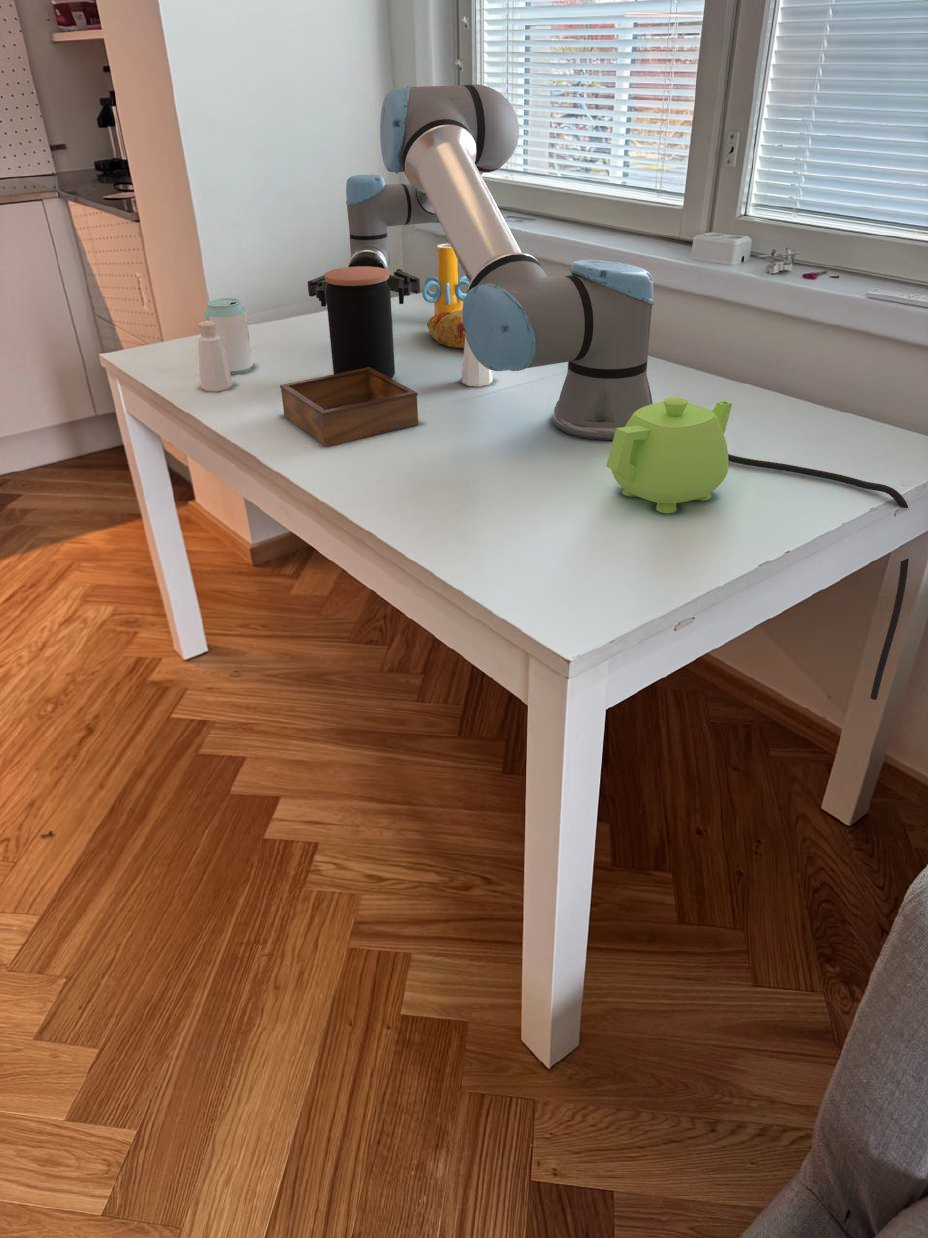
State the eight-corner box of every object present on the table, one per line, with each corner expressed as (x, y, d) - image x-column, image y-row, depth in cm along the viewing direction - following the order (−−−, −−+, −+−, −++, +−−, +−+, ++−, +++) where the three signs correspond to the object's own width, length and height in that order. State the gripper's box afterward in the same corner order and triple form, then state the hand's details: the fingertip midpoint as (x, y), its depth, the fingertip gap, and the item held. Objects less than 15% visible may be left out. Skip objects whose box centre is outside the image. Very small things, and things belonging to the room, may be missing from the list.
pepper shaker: (480, 388, 158) (479, 322, 153) (455, 383, 161) (453, 318, 155) (499, 380, 162) (499, 315, 156) (473, 375, 165) (473, 311, 159)
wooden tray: (419, 424, 145) (417, 392, 142) (325, 446, 138) (322, 413, 135) (372, 397, 156) (369, 366, 153) (283, 416, 149) (279, 384, 146)
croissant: (419, 351, 190) (402, 319, 184) (452, 319, 192) (436, 286, 186) (488, 372, 175) (471, 338, 170) (523, 338, 178) (508, 303, 172)
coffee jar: (396, 370, 168) (390, 265, 159) (394, 389, 159) (387, 278, 150) (336, 372, 168) (326, 266, 158) (331, 391, 159) (320, 280, 149)
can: (242, 361, 175) (233, 294, 169) (260, 369, 170) (251, 301, 164) (207, 368, 171) (196, 301, 165) (224, 377, 167) (213, 308, 160)
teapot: (684, 459, 131) (694, 370, 124) (760, 491, 121) (775, 396, 114) (573, 496, 121) (578, 401, 114) (646, 533, 112) (656, 433, 105)
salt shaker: (232, 380, 165) (222, 316, 159) (234, 390, 161) (224, 324, 155) (200, 383, 164) (189, 319, 158) (201, 393, 159) (190, 327, 154)
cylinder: (474, 328, 191) (473, 251, 183) (422, 329, 191) (419, 251, 183) (474, 313, 201) (473, 239, 193) (426, 314, 201) (423, 240, 193)
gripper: (432, 289, 184) (434, 316, 166) (305, 293, 183) (292, 321, 165) (431, 248, 180) (432, 272, 162) (300, 252, 179) (287, 276, 161)
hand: (361, 297), depth 163 cm, fingers open, 13 cm apart
